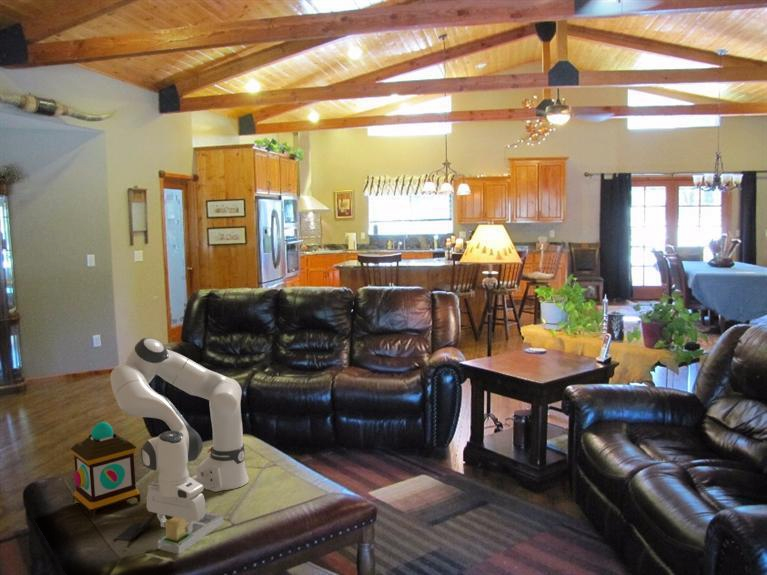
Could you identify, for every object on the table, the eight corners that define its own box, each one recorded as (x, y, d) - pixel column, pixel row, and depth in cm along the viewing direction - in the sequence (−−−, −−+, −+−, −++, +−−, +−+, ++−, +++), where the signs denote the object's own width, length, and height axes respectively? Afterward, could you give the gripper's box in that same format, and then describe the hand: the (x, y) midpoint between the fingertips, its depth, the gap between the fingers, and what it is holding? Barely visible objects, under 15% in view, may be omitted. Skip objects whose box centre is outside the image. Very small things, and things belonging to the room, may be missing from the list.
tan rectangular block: (166, 547, 190) (165, 522, 189) (176, 540, 194) (175, 516, 193) (177, 549, 188) (176, 524, 187) (187, 543, 192) (185, 518, 191)
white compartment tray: (158, 550, 189) (157, 540, 189) (203, 520, 208) (203, 510, 208) (179, 555, 186) (178, 545, 185) (223, 524, 205) (223, 514, 205)
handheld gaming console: (126, 521, 205) (142, 499, 203) (145, 532, 206) (161, 511, 204) (111, 543, 194) (127, 521, 192) (130, 555, 195) (147, 533, 193)
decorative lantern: (124, 487, 236) (119, 410, 233) (146, 503, 222) (141, 421, 219) (67, 504, 222) (61, 422, 219) (88, 522, 208) (81, 435, 205)
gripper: (140, 484, 190) (142, 527, 191) (193, 494, 182) (195, 539, 183) (155, 476, 196) (157, 518, 197) (207, 486, 188) (209, 530, 189)
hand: (176, 528), depth 190 cm, fingers open, 8 cm apart
